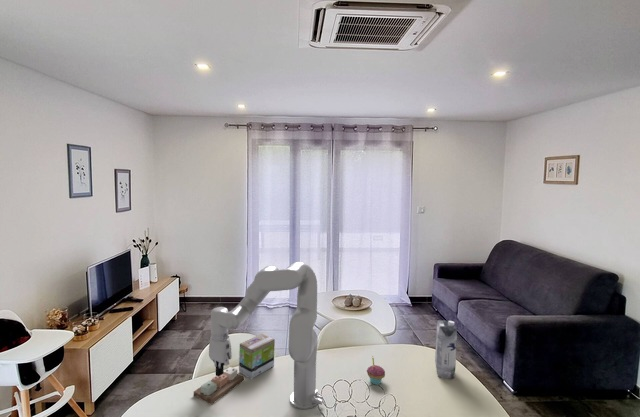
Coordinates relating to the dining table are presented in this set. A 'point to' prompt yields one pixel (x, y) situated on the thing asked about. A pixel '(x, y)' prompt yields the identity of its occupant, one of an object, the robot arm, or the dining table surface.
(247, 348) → the tea box
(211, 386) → the pale grey square block
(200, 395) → the tile board
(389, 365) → the dining table surface
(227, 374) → the two-pip tile
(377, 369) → the cupcake
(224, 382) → the pink three-dot die face
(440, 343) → the juice carton
